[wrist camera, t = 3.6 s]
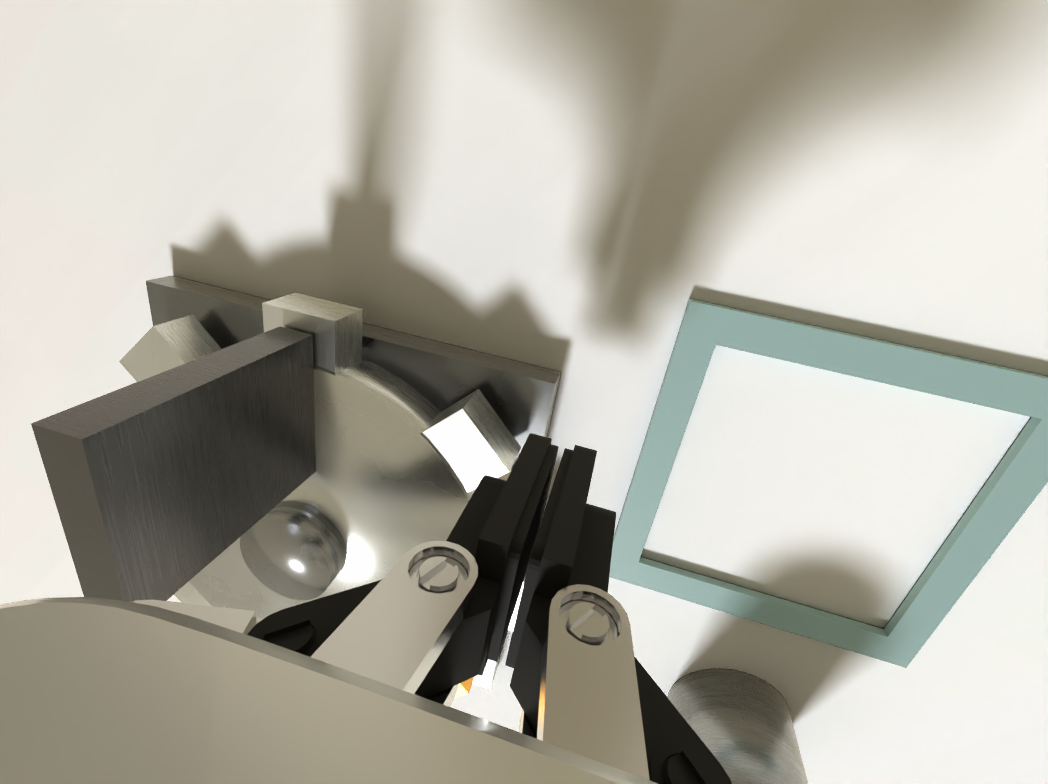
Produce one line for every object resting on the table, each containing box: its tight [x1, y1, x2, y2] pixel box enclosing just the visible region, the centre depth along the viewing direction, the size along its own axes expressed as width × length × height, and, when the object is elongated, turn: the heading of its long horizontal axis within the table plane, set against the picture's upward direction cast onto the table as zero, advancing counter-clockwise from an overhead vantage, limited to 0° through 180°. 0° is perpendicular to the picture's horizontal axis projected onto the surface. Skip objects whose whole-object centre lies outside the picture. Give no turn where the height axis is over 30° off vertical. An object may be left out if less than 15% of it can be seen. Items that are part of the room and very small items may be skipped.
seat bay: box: [609, 299, 1048, 668], centre depth 15 cm, size 10×10×1 cm
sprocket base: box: [146, 276, 561, 689], centre depth 19 cm, size 14×14×1 cm
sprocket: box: [31, 293, 525, 697], centre depth 15 cm, size 16×16×8 cm
